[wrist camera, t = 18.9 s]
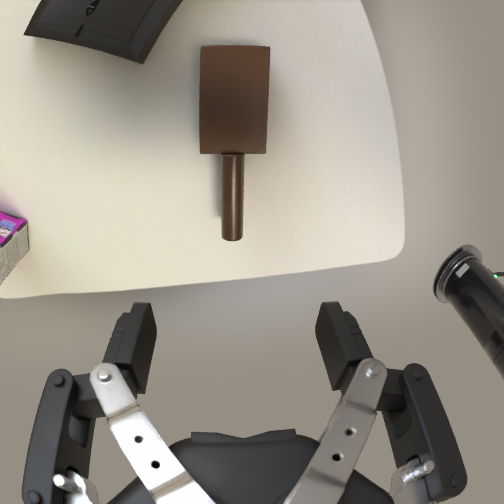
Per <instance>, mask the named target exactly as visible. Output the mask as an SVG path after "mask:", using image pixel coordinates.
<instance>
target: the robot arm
mask: <svg viewBox="0 0 504 504" xmlns="http://www.w3.org/2000/svg"><path fill="white" fill-rule="evenodd" d="M497 276H504V272H497V273H492V272H491V271H490V270H489V269H487V268H486V267H485V266H484V265H483V264H482V263H481V262H480V261H479V259H478V258H477V257H476V256H474V255H467V256H465V257H463V258H461V259H460V260H459V261H457V262H456V263H455V264H454V266H453V267H452V268H451V269H450V271H449V272H448V274H447V275H446V277H445V280H444V282H443V286H442V293H443V295H444V297H445V298H446V299H447V300H448V301H449V302H450V303H451V305H453V307H454V308H455V310H456V311H457V313H458V314H459V315H460V316H461V318H462V319H463V321H464V322H465V323H466V325H467V326H468V327H469V329H470V330H471V332H472V333H473V334H474V336H475V337H476V339H477V340H478V342H479V343H480V345H481V346H482V347H483V349H484V350H485V352H486V353H487V355H488V356H489V358H490V359H491V361H492V363H493V364H494V366H495V367H496V369H497V370H498V372H499V374H500V375H501V377H502V378H503V380H504V285H503V284H502V283H501V282H500V281H499V280H498V279H497ZM315 333H316V338H317V341H318V344H319V348H320V351H321V354H322V357H323V361H324V364H325V367H326V370H327V374H328V377H329V380H330V384H331V387H332V391H335V390H341V393H342V395H341V397H340V399H339V401H338V403H337V405H336V407H335V409H334V411H333V413H332V415H331V417H330V419H329V421H328V422H327V424H326V426H325V428H324V429H323V431H322V433H321V434H320V436H319V438H318V439H317V441H316V440H314V439H312V438H310V437H306V436H303V435H297V434H296V431H295V429H287V430H276V431H269V432H265V433H262V434H258V435H255V436H251V437H247V438H239V437H234V436H230V435H225V434H221V433H208V432H207V433H206V432H191V438H187V439H184V440H180V441H178V442H176V443H174V444H172V445H171V446H169V447H167V445H166V444H165V443H164V441H163V440H162V438H161V437H160V436H159V434H158V433H157V431H156V430H155V428H154V427H153V425H152V424H151V422H150V421H149V419H148V418H147V416H146V415H145V413H144V412H143V410H142V409H141V407H140V405H139V404H138V402H137V401H136V399H137V394H138V393H139V394H145V391H146V385H147V380H148V375H149V370H150V365H151V360H152V355H153V351H154V346H155V341H156V336H157V335H156V334H157V328H156V324H155V319H154V315H153V311H152V307H151V304H150V303H143V302H134V304H133V306H132V309H131V312H130V313H123V314H122V316H121V317H120V318H119V319H118V320H117V322H116V325H115V328H114V331H113V333H112V337H111V338H110V342H109V344H108V347H107V350H106V353H105V356H104V359H103V361H102V363H101V364H99V365H97V366H96V367H94V368H93V369H92V371H91V373H88V374H82V375H75V376H72V374H71V373H70V372H69V371H68V370H66V369H57V370H55V371H53V372H52V373H51V374H50V375H49V377H48V378H47V381H46V384H45V387H44V390H43V394H42V397H41V400H40V404H39V407H38V410H37V414H36V418H35V422H34V426H33V430H32V434H31V438H30V443H29V447H28V453H27V458H26V464H25V470H24V477H23V484H22V499H23V502H24V504H101V503H100V501H99V499H98V492H97V489H96V487H95V485H94V484H93V483H92V482H91V481H89V480H88V475H89V465H90V456H91V448H92V441H93V434H94V427H95V421H96V418H98V417H107V423H108V425H109V427H110V429H111V431H112V433H113V435H114V436H115V438H116V440H117V442H118V444H119V445H120V447H121V449H122V451H123V452H124V454H125V456H126V457H127V459H128V460H129V462H130V463H131V465H132V467H133V468H134V470H135V471H136V473H137V474H138V476H137V477H136V478H135V479H134V480H133V481H132V482H131V483H130V484H129V485H128V486H126V487H125V488H124V489H123V490H122V491H121V492H120V493H119V494H117V496H115V497H114V498H113V499H112V500H111V501H110V502H108V503H107V504H438V503H441V502H443V501H445V500H448V499H450V498H453V497H455V496H457V495H459V494H460V493H461V492H462V491H463V490H464V489H465V487H466V484H467V474H466V470H465V467H464V464H463V460H462V457H461V454H460V451H459V448H458V445H457V442H456V439H455V437H454V434H453V431H452V428H451V426H450V423H449V420H448V418H447V415H446V413H445V410H444V408H443V405H442V403H441V400H440V398H439V396H438V393H437V391H436V389H435V386H434V384H433V382H432V380H431V377H430V375H429V373H428V371H427V370H426V369H425V368H424V367H423V366H422V365H419V364H416V363H412V364H409V365H407V366H406V367H405V369H404V370H396V369H388V368H386V367H385V365H384V364H383V363H382V362H380V361H379V360H376V359H374V358H373V356H372V353H371V352H370V349H369V347H368V344H367V342H366V340H365V338H364V336H363V335H362V331H361V329H360V328H359V325H358V323H357V321H356V319H355V318H354V317H353V316H352V315H351V314H350V313H349V312H348V311H345V312H343V310H342V308H341V306H340V304H339V302H323V303H322V304H321V307H320V311H319V315H318V318H317V322H316V326H315ZM376 411H382V414H383V418H384V422H385V425H386V429H387V432H388V436H389V440H390V443H391V447H392V451H393V455H394V459H395V463H396V467H397V470H396V471H395V472H394V473H393V475H392V478H391V489H390V492H389V493H388V492H386V491H385V490H384V489H382V488H380V487H379V486H377V485H376V484H375V483H373V482H372V481H370V480H369V479H367V478H366V477H365V476H363V475H362V474H360V473H359V472H357V471H356V470H355V469H354V467H355V465H356V462H357V461H358V458H359V456H360V454H361V452H362V450H363V447H364V445H365V443H366V440H367V438H368V435H369V433H370V431H371V428H372V426H373V423H374V421H375V418H376V415H377V412H376Z"/></svg>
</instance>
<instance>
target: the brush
mask: <svg viewBox="0 0 504 504" xmlns="http://www.w3.org/2000/svg"><path fill="white" fill-rule="evenodd" d="M269 69H270V47H266V46H246V45H211V46H201V53H200V98H199V134H200V154H221V223H222V238H223V239H224V240H227V241H237V240H240V239H241V238H242V237H243V199H244V158H245V154H265V153H266V138H267V116H268V93H269Z"/></svg>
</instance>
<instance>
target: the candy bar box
mask: <svg viewBox="0 0 504 504" xmlns="http://www.w3.org/2000/svg"><path fill="white" fill-rule="evenodd" d="M28 251H29V240H28V225H27V221H26V220H24V219H21V218H18V217H15V216H12V215H9V214H6V213H3V212H0V285H1V283H2V282H3V281H4V280H5V278H6V277H7V276H8V274H9V273H10V272H11V271H12V269H13V268H14V267H15V266H16V265H17V263H18V262H19V261H20V260H21V259H22V258H23V256H24V255H25V254H26V253H27V252H28Z"/></svg>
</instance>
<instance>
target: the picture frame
mask: <svg viewBox="0 0 504 504" xmlns="http://www.w3.org/2000/svg"><path fill="white" fill-rule="evenodd" d="M182 1H183V0H41V2H40V3H39V5H38V7H37V9H36V11H35V13H34V15H33V16H32V18H31V20H30V22H29V24H28V27H27V29H26V31H25V33H24V35H27V36H34V37H40V38H46V39H52V40H57V41H62V42H67V43H71V44H76V45H80V46H84V47H88V48H92V49H95V50H99V51H103V52H106V53H110V54H113V55H116V56H119V57H123V58H126V59H129V60H132V61H135V62H138V63H141V64H143V63H144V61H145V59H146V57H147V55H148V54H149V52H150V50H151V48H152V47H153V45H154V43H155V42H156V40H157V38H158V37H159V35H160V33H161V32H162V30H163V29H164V27H165V25H166V24H167V22H168V21H169V19H170V18H171V16H172V15H173V13H174V12H175V10H176V9H177V8H178V6H179V5H180V3H181V2H182Z"/></svg>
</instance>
